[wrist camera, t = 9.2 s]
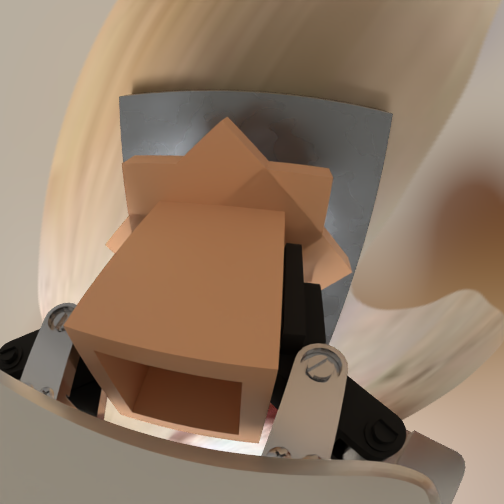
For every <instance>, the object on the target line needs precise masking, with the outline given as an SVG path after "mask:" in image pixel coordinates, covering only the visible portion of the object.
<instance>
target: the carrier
mask: <svg viewBox="0 0 504 504" xmlns="http://www.w3.org/2000/svg"><path fill="white" fill-rule="evenodd" d="M119 105H120V127H121V142H122V154H123V162H125V161H127V160H128V159H130V158H131V157H133V156H134V155H169V156H185V155H186V154H187V153H188V152H189V151H190V150H191V149H192V148H193V147H194V146H195V145H196V144H197V143H198V142H199V141H200V140H201V139H202V138H203V137H204V136H205V135H206V134H207V133H208V132H210V131H211V130H212V129H213V128H214V127H215V126H216V125H217V124H218V123H219V122H220V121H222V120H223V119H225V118H226V117H228V118H229V119H230V120H231V121H232V122H233V123H234V124H235V125H236V126H237V127H238V128H239V129H240V130H241V131H242V132H243V133H244V135H245V136H246V137H247V138H248V139H249V140H250V141H251V142H252V143H253V144H254V145H255V146H256V147H257V149H258V150H259V151H260V152H261V153H262V154H263V155H264V156H265V157H266V159H267V160H268V161H273V162H283V163H292V164H300V165H308V166H316V167H323V168H329V169H330V172H331V174H332V176H333V182H332V187H331V193H330V198H329V203H328V209H327V214H326V219H325V224H324V227H325V228H326V230H327V231H328V232H329V233H330V235H331V236H332V237H333V238H334V240H335V241H336V242H337V244H338V245H339V246H340V247H341V249H342V250H343V251H344V253H345V254H346V255H347V257H348V259H349V262H350V266H351V270H352V273H350V274H349V275H347V276H345V277H343V278H342V279H340V280H338V281H336V282H335V283H333V284H331V285H329V286H328V287H326V288H324V289H322V290H321V292H322V301H323V311H324V322H325V333H326V344H327V345H329V342H330V340H331V337H332V335H333V332H334V329H335V327H336V324H337V321H338V319H339V316H340V313H341V311H342V308H343V305H344V302H345V299H346V296H347V294H348V291H349V288H350V285H351V282H352V279H353V276H354V273H355V269H356V266H357V263H358V260H359V257H360V253H361V250H362V247H363V243H364V240H365V236H366V233H367V229H368V226H369V222H370V218H371V214H372V211H373V207H374V203H375V199H376V195H377V191H378V186H379V182H380V178H381V173H382V169H383V164H384V159H385V154H386V149H387V144H388V138H389V133H390V127H391V121H392V115H393V114H392V113H389V112H386V111H383V110H379V109H375V108H370V107H366V106H361V105H356V104H351V103H346V102H340V101H335V100H329V99H322V98H316V97H308V96H301V95H292V94H282V93H271V92H258V91H238V90H182V91H163V92H149V93H138V94H130V95H125V96H120V97H119Z"/></svg>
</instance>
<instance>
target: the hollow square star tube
mask: <svg viewBox="0 0 504 504" xmlns="http://www.w3.org/2000/svg"><path fill="white" fill-rule="evenodd" d="M122 169H123V178H124V186H125V193H126V201H127V207H128V214H129V216H128V217H127V219H126V220H125V221H124V222H123V223H122V225H121V226H120V227H119V228H118V229H117V231H116V232H115V233H114V234H113V236H112V237H111V238H110V239H109V241H108V242H107V243H106V244H105V245H106V246H107V247H108V248H109V249H110V250H111V251H113V252H114V253H115V254H114V256H113V257H112V258H111V260H110V261H109V262H108V263H107V265H106V266H105V267H104V269H103V270H102V271H101V273H100V274H99V275H98V277H97V278H96V279H95V281H94V282H93V283H92V285H91V286H90V287H89V289H88V290H87V292H86V293H85V294H84V296H83V297H82V299H81V300H80V302H79V303H78V304H77V306H76V307H75V309H74V310H73V312H72V313H71V315H70V316H69V318H68V319H67V321H66V322H65V324H64V325H63V326H64V328H65V330H66V332H67V334H68V336H69V337H70V339H71V341H72V343H73V344H74V346H75V348H76V349H77V351H78V353H79V354H80V356H81V358H82V359H83V361H84V363H85V364H86V366H87V367H88V369H89V370H90V372H91V374H92V375H93V377H94V378H95V380H96V381H97V383H98V384H99V385H100V387H101V388H102V390H103V391H104V393H105V394H106V395H107V397H108V398H109V400H110V401H111V402H112V404H113V405H114V406H115V408H116V409H117V410H118V412H119V413H120V414H121V415H124V416H127V417H131V418H134V419H137V420H141V421H144V422H148V423H151V424H155V425H159V426H163V427H167V428H171V429H175V430H179V431H184V432H188V433H193V434H198V435H204V436H209V437H215V438H221V439H228V440H235V441H243V442H251V443H259V441H260V437H261V433H262V430H263V426H264V423H265V419H266V415H267V411H268V408H269V404H270V400H271V396H272V392H273V388H274V384H275V380H276V376H277V372H278V365H279V348H280V331H281V311H282V289H283V263H284V247H285V245H286V243H292V244H301V245H302V256H303V274H304V282H305V283H315V284H320V285H321V290H322V289H324V288H326V287H328V286H329V285H331V284H333V283H335V282H336V281H338V280H340V279H342V278H343V277H345V276H347V275H349V274H350V273H352V270H351V266H350V262H349V259H348V257H347V255H346V254H345V253H344V251H343V250H342V249H341V247H340V246H339V245H338V244H337V242H336V241H335V240H334V238H333V237H332V236H331V235H330V233H329V232H328V231H327V230H326V228H325V227H324V224H325V219H326V214H327V209H328V203H329V198H330V193H331V187H332V182H333V176H332V174H331V172H330V169H329V168H323V167H316V166H308V165H300V164H292V163H283V162H273V161H268V160H267V159H266V157H265V156H264V155H263V154H262V153H261V152H260V151H259V150H258V149H257V147H256V146H255V145H254V144H253V143H252V142H251V141H250V140H249V139H248V138H247V137H246V136H245V135H244V133H243V132H242V131H241V130H240V129H239V128H238V127H237V126H236V125H235V124H234V123H233V122H232V121H231V120H230V119H229V118H228V117H226V118H225V119H223V120H222V121H220V122H219V123H218V124H217V125H216V126H215V127H214V128H213V129H212V130H211V131H210V132H208V133H207V134H206V135H205V136H204V137H203V138H202V139H201V140H200V141H199V142H198V143H197V144H196V145H195V146H194V147H193V148H192V149H191V150H190V151H189V152H188V153H187V154H186V155H185V156H169V155H134V156H133V157H131V158H130V159H128V160H127V161H125V162H123V163H122ZM131 233H132V234H131ZM126 239H127V240H126Z"/></svg>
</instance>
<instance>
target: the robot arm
mask: <svg viewBox="0 0 504 504" xmlns="http://www.w3.org/2000/svg"><path fill="white" fill-rule="evenodd" d="M131 234H132V233H131ZM126 240H127V239H126ZM110 260H111V259H110ZM76 306H77V305H75V304H73V303H63V304H60V305H57V306H56V307H54V308H53V309H51V310H50V311H49V312H48V314H47V315H46V317H45V319H44V321H43V323H42V326H41V328H40V329H39V330H36V331H34V332H31V333H29V334H27V335H24V336H22V337H19V338H17V339H14V340H12V341H10V342H8V343H6V344H5V345H3V346H2V347H1V349H0V504H451V503H452V501H453V499H454V497H455V495H456V492H457V490H458V488H459V485H460V483H461V480H462V478H463V475H464V471H465V461H464V459H463V457H462V455H460V454H459V453H458V452H456V451H454V450H452V449H450V448H448V447H446V446H444V445H442V444H440V443H438V442H435V441H434V440H432V439H430V438H428V437H426V436H424V435H422V434H420V433H418V432H416V431H413V432H412V433H411V432H410V431H408V430H406V428H405V426H404V423H403V421H402V420H401V419H400V418H399V417H398V416H397V415H396V414H395V413H393V412H392V411H391V410H389V409H388V408H387V407H386V406H384V405H383V404H382V403H381V402H379V401H378V400H377V399H376V398H374V397H373V396H372V395H371V394H369V393H368V392H367V391H366V390H364V389H363V388H362V387H361V386H359V385H358V384H357V383H356V382H355V381H353V380H352V379H351V378H350V377H348V376H347V373H348V363H347V361H346V359H345V357H344V355H343V354H342V353H341V352H340V351H339V350H337V349H336V348H334V347H332V346H330V345H327V344H326V333H325V322H324V311H323V301H322V292H321V285H320V284H315V283H305V282H304V274H303V256H302V245H301V244H292V243H286V245H285V247H284V263H283V289H282V311H281V331H280V348H279V365H278V372H277V376H276V380H275V384H274V388H273V392H272V396H271V400H270V402H271V403H272V404H273V405H274V406H275V407H276V408H277V409H278V412H277V415H276V418H275V421H274V424H273V426H272V429H271V432H270V434H269V437H268V440H267V443H266V445H265V448H264V450H263V453H262V456H256V455H247V454H238V453H231V452H224V451H218V450H212V449H207V448H201V447H196V446H192V445H187V444H182V443H178V442H174V441H170V440H166V439H162V438H158V437H154V436H151V435H147V434H144V433H141V432H137V431H134V430H131V429H128V428H125V427H122V426H119V425H116V424H113V423H110V422H107V421H105V420H104V415H105V408H106V402H107V395H106V394H105V393H104V391H103V390H102V388H101V387H100V385H99V384H98V383H97V381H96V380H95V378H94V377H93V375H92V374H91V372H90V370H89V369H88V367H87V366H86V364H85V363H84V361H83V359H82V358H81V356H80V354H79V353H78V351H77V349H76V348H75V346H74V344H73V343H72V341H71V339H70V337H69V336H68V334H67V332H66V330H65V328H64V326H63V325H64V324H65V322H66V321H67V319H68V318H69V316H70V315H71V313H72V312H73V310H74V309H75V307H76Z"/></svg>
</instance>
